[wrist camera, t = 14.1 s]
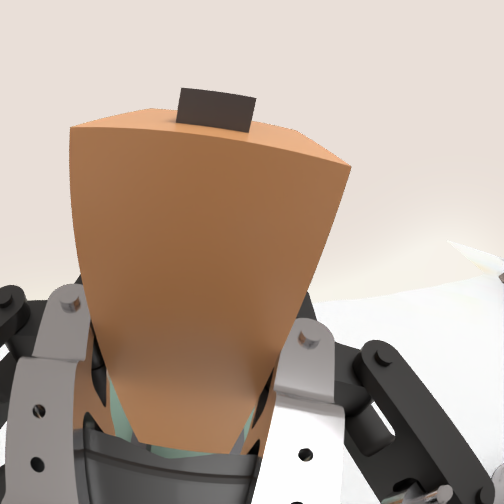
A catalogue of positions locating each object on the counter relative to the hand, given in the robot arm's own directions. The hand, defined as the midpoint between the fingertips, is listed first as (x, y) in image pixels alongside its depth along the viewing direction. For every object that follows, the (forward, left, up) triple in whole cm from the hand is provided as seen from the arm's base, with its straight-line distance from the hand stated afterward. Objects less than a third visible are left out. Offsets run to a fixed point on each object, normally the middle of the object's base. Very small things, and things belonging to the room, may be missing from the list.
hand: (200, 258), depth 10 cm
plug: (-2, +1, -7) cm, 8 cm away
